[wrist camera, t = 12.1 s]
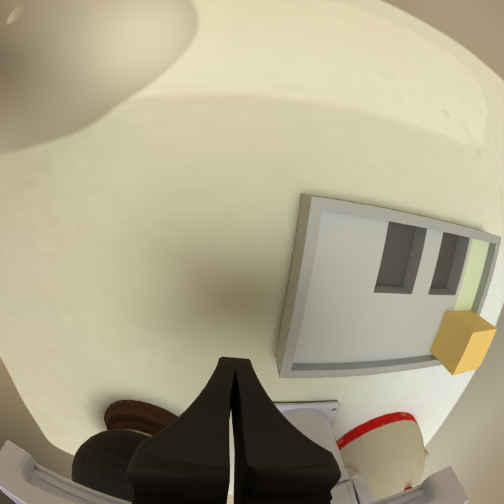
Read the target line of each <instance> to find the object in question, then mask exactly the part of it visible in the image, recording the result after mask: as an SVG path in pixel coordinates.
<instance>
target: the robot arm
mask: <svg viewBox="0 0 504 504" xmlns="http://www.w3.org/2000/svg"><path fill="white" fill-rule="evenodd" d="M338 408H339V402H337V401H333V402H316V403H273V402H272V401H271V399H270V398H269V396H268V395H267V393H266V392H265V390H264V388H263V387H262V385H261V383H260V382H259V380H258V378H257V376H256V374H255V371H254V369H253V367H252V364H251V361H250V360H249V359H242V358H229V357H221V358H219V361H218V364H217V366H216V369H215V371H214V373H213V375H212V376H211V378H210V380H209V381H208V383H207V385H206V386H205V388H204V389H203V390H202V392H201V393H200V394H199V396H198V397H197V398H196V400H195V401H194V402H193V403H192V404H191V405H190V406H189V407H188V409H187V410H186V411H184V412H183V413H182V414H181V415H180V416H179V417H178V418H177V419H176V420H175V421H173V422H172V423H171V424H170V425H168V426H167V427H165V428H164V429H163V430H161V431H160V432H158V433H157V434H155V435H154V436H152V437H150V438H148V439H147V440H145V441H143V442H141V443H140V444H139V446H138V447H137V449H136V450H135V452H134V454H133V456H132V458H131V460H130V462H129V466H128V469H127V472H126V476H127V479H128V481H129V482H130V484H131V486H132V488H133V489H134V491H135V492H134V496H133V500H132V502H129V501H125V500H122V499H119V498H115V497H112V496H109V495H106V494H103V493H101V492H98V491H95V490H92V489H90V488H87V487H85V486H82V485H80V484H78V483H75V482H73V481H71V480H68V479H66V478H64V477H62V476H60V475H58V474H56V473H54V472H52V471H50V470H47V469H46V468H44V467H42V466H40V465H38V464H37V463H36V462H35V460H34V459H33V458H32V457H31V455H29V454H28V453H27V452H26V451H24V450H23V449H21V448H20V447H18V446H16V445H15V444H13V443H12V442H10V441H6V443H5V444H4V446H3V447H2V449H1V450H0V489H1V490H2V491H3V492H4V493H5V494H6V495H7V496H8V497H10V498H11V499H12V500H13V501H14V502H16V503H17V504H226V503H227V496H228V489H229V482H230V456H229V418H230V411H231V413H232V425H233V436H234V449H235V462H234V504H466V503H467V502H468V501H469V497H468V496H467V494H466V492H465V490H464V488H463V487H462V485H461V483H460V482H459V480H458V478H457V476H456V475H455V473H454V471H453V470H452V468H451V466H449V467H447V468H445V469H443V470H441V471H438V472H436V473H434V474H432V475H431V476H429V477H428V478H427V479H425V480H424V481H423V483H422V484H421V485H418V486H416V487H413V488H411V489H408V490H406V491H403V492H400V493H397V494H394V495H391V496H388V497H385V498H382V499H379V500H375V501H373V498H372V495H371V493H370V490H369V487H368V485H367V483H366V480H365V479H364V477H361V476H358V475H357V474H356V475H354V476H351V479H352V482H353V487H352V484H351V481H350V478H349V475H348V472H347V469H345V467H344V464H343V461H342V458H341V455H340V452H339V449H338V446H337V443H336V440H335V437H334V434H333V431H332V428H331V423H332V421H333V419H334V417H335V414H336V412H337V410H338ZM353 488H354V490H353ZM354 491H355V493H354ZM355 494H356V495H355Z"/></svg>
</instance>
